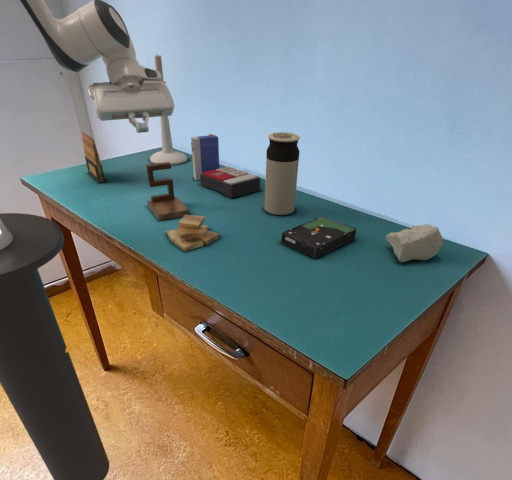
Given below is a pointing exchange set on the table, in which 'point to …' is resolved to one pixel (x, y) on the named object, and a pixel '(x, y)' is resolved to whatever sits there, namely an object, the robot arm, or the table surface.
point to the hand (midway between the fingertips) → (143, 131)
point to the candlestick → (166, 135)
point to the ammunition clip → (92, 158)
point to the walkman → (204, 154)
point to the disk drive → (318, 236)
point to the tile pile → (191, 233)
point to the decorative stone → (416, 242)
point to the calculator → (230, 181)
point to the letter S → (164, 196)
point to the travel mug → (281, 173)
